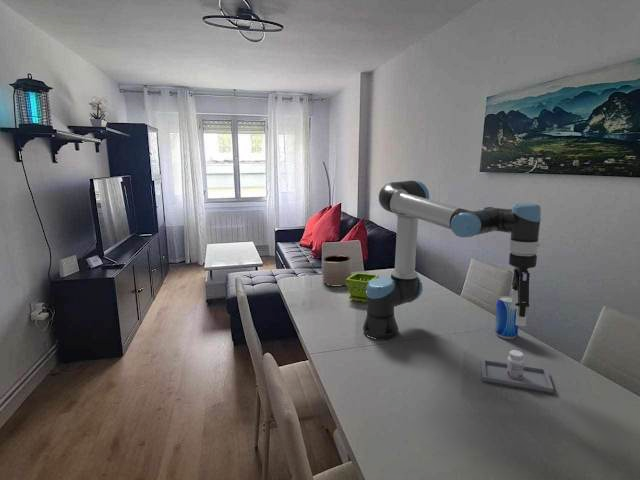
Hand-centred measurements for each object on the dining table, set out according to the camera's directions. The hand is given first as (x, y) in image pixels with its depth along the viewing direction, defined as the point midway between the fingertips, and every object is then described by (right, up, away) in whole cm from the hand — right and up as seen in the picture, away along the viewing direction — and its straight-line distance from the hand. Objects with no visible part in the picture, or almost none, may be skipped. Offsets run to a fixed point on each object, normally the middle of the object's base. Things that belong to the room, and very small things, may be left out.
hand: (517, 316), depth 116 cm
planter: (-53, -2, +108) cm, 121 cm away
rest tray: (+1, -21, +4) cm, 22 cm away
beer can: (+13, -15, +33) cm, 39 cm away
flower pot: (-41, -8, +79) cm, 90 cm away
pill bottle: (+1, -21, +4) cm, 21 cm away
